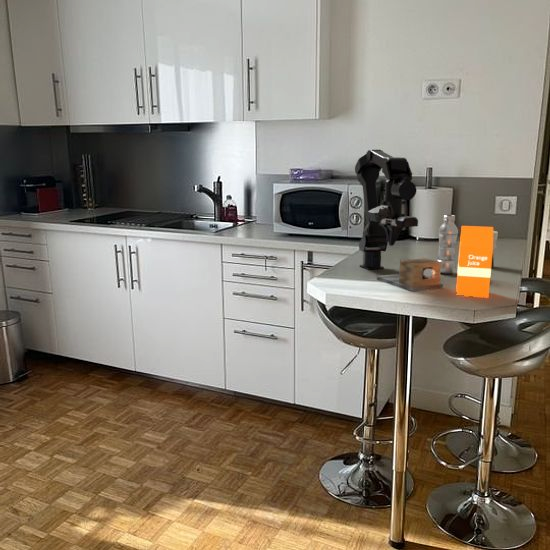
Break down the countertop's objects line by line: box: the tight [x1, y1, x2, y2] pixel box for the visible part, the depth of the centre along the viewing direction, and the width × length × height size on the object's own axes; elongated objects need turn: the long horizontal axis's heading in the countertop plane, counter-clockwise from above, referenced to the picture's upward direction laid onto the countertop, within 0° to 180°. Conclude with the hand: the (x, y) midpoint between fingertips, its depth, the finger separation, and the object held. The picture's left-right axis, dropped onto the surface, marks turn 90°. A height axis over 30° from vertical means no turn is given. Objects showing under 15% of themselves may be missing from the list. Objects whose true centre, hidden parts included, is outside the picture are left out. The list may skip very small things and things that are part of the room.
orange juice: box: [455, 225, 494, 299], centre depth 160 cm, size 8×9×20 cm
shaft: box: [423, 268, 437, 280], centre depth 169 cm, size 12×5×5 cm, turn 25°
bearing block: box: [376, 257, 444, 292], centre depth 174 cm, size 18×12×8 cm, turn 25°
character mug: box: [491, 230, 499, 268], centre depth 199 cm, size 11×7×13 cm, turn 3°
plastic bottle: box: [436, 214, 459, 275], centre depth 187 cm, size 6×7×20 cm
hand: (391, 245), depth 180 cm, fingers closed
